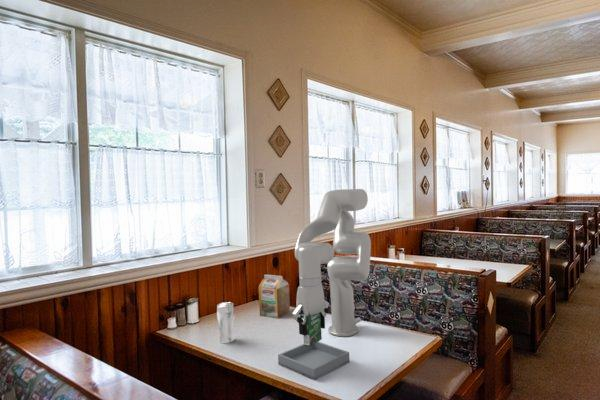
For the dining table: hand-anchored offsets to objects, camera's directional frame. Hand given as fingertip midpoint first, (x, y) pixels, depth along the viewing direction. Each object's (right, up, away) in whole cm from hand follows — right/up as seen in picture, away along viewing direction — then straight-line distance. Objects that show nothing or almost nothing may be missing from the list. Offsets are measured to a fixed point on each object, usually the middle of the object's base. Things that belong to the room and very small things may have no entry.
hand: (312, 330), depth 144 cm
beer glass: (-34, -12, +26) cm, 44 cm away
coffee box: (0, -4, 0) cm, 4 cm away
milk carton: (-16, -10, +58) cm, 61 cm away
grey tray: (+1, -11, +1) cm, 11 cm away
